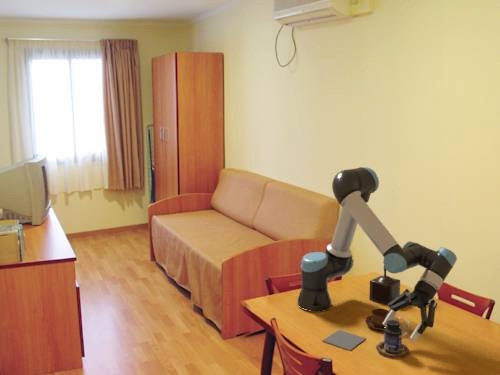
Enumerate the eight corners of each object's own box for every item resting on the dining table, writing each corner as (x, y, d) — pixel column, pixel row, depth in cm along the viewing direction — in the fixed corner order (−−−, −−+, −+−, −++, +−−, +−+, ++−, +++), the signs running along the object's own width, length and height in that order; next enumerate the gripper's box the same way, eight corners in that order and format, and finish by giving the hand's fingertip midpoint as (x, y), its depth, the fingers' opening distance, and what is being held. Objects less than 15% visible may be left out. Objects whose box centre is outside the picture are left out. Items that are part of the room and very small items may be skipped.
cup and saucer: (379, 335, 197) (379, 320, 196) (359, 324, 207) (359, 310, 206) (402, 328, 202) (402, 314, 201) (381, 317, 213) (382, 304, 212)
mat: (322, 341, 193) (322, 340, 193) (339, 330, 201) (339, 329, 201) (349, 351, 185) (349, 350, 185) (365, 339, 194) (365, 338, 194)
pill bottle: (402, 355, 181) (402, 326, 179) (384, 354, 182) (385, 325, 180) (400, 347, 187) (401, 319, 185) (383, 346, 188) (384, 318, 186)
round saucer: (371, 351, 184) (371, 349, 184) (385, 340, 192) (385, 338, 192) (400, 361, 177) (400, 358, 176) (413, 349, 185) (413, 347, 185)
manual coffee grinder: (390, 306, 224) (391, 267, 221) (368, 300, 232) (369, 262, 229) (407, 296, 235) (408, 259, 232) (385, 290, 242) (386, 254, 239)
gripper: (461, 301, 179) (430, 351, 174) (408, 280, 200) (379, 325, 195) (451, 290, 175) (419, 341, 171) (398, 270, 197) (369, 315, 192)
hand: (398, 332), depth 183 cm, fingers open, 13 cm apart
